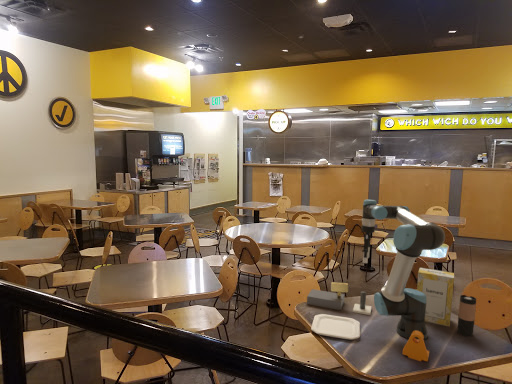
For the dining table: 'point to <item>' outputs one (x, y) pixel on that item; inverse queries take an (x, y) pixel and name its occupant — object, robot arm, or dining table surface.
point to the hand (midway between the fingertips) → (365, 260)
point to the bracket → (416, 347)
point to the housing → (325, 299)
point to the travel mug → (466, 315)
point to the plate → (336, 326)
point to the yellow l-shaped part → (339, 288)
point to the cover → (362, 305)
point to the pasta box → (437, 294)
